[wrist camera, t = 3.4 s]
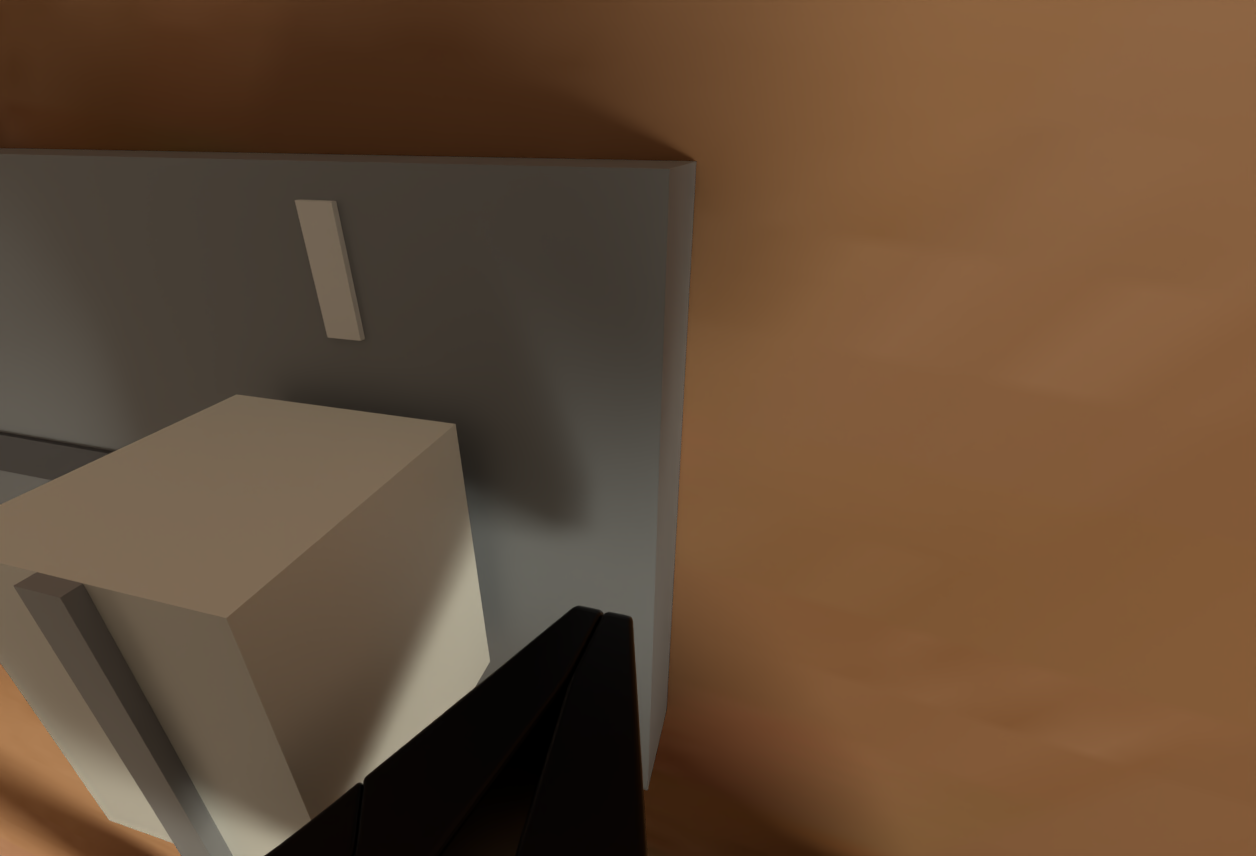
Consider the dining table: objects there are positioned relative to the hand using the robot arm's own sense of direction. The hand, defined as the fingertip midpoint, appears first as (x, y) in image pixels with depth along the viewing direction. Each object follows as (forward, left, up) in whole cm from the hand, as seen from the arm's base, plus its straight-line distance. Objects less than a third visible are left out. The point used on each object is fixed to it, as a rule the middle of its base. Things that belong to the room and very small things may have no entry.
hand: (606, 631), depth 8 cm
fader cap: (0, +5, -1) cm, 5 cm away
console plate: (0, +13, -4) cm, 13 cm away
